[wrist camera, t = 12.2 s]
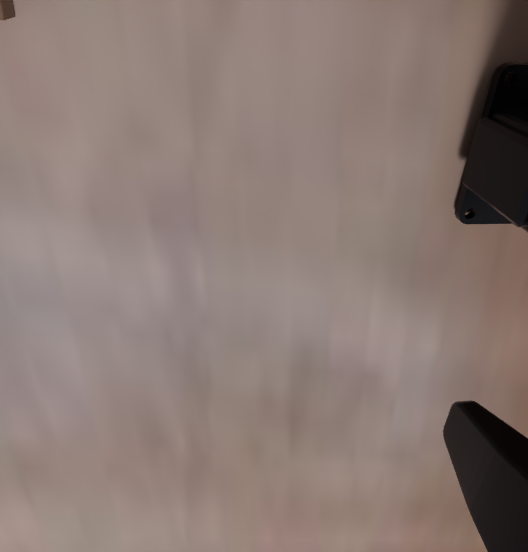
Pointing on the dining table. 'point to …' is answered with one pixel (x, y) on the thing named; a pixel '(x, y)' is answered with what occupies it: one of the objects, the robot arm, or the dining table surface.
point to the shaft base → (6, 9)
